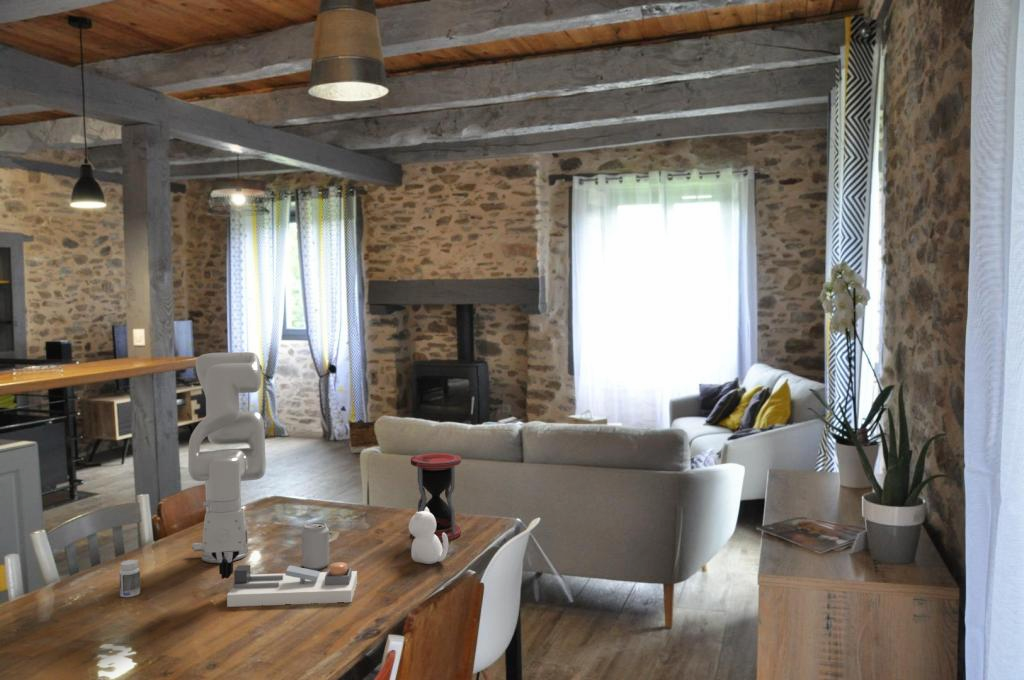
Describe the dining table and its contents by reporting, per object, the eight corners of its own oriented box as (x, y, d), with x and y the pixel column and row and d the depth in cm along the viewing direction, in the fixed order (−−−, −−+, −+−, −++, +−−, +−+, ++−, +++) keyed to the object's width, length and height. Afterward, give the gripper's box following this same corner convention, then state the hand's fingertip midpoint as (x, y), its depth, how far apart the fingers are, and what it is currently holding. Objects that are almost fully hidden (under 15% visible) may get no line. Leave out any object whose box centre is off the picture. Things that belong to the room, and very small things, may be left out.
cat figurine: (417, 554, 229) (416, 504, 228) (455, 558, 224) (454, 507, 223) (402, 564, 220) (401, 512, 220) (442, 568, 216) (441, 515, 215)
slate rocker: (285, 575, 194) (286, 570, 194) (288, 569, 198) (289, 565, 198) (316, 581, 195) (317, 577, 195) (318, 576, 199) (319, 571, 199)
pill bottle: (144, 592, 198) (143, 560, 198) (130, 598, 194) (129, 565, 193) (130, 589, 200) (129, 558, 199) (115, 596, 195) (114, 563, 195)
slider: (234, 586, 193) (234, 570, 193) (238, 580, 197) (238, 565, 197) (246, 586, 194) (246, 570, 193) (250, 580, 198) (250, 565, 197)
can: (322, 571, 214) (321, 528, 213) (297, 569, 215) (296, 527, 215) (333, 562, 221) (333, 521, 220) (309, 560, 222) (309, 519, 222)
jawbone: (339, 532, 254) (340, 526, 254) (345, 552, 235) (346, 545, 234) (311, 532, 251) (312, 526, 251) (315, 552, 232) (315, 546, 232)
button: (328, 577, 195) (328, 568, 195) (330, 571, 200) (330, 562, 200) (346, 577, 196) (346, 567, 196) (348, 571, 200) (348, 562, 200)
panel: (227, 606, 188) (226, 586, 188) (241, 586, 202) (241, 566, 202) (351, 602, 191) (351, 581, 191) (357, 582, 205) (356, 562, 205)
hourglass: (434, 524, 259) (433, 451, 258) (471, 532, 250) (471, 456, 249) (400, 536, 246) (399, 458, 245) (438, 545, 237) (438, 464, 236)
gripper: (189, 509, 190) (191, 583, 191) (251, 508, 191) (253, 581, 192) (199, 502, 197) (200, 572, 198) (259, 500, 199) (260, 570, 199)
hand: (226, 576), depth 195 cm, fingers closed
